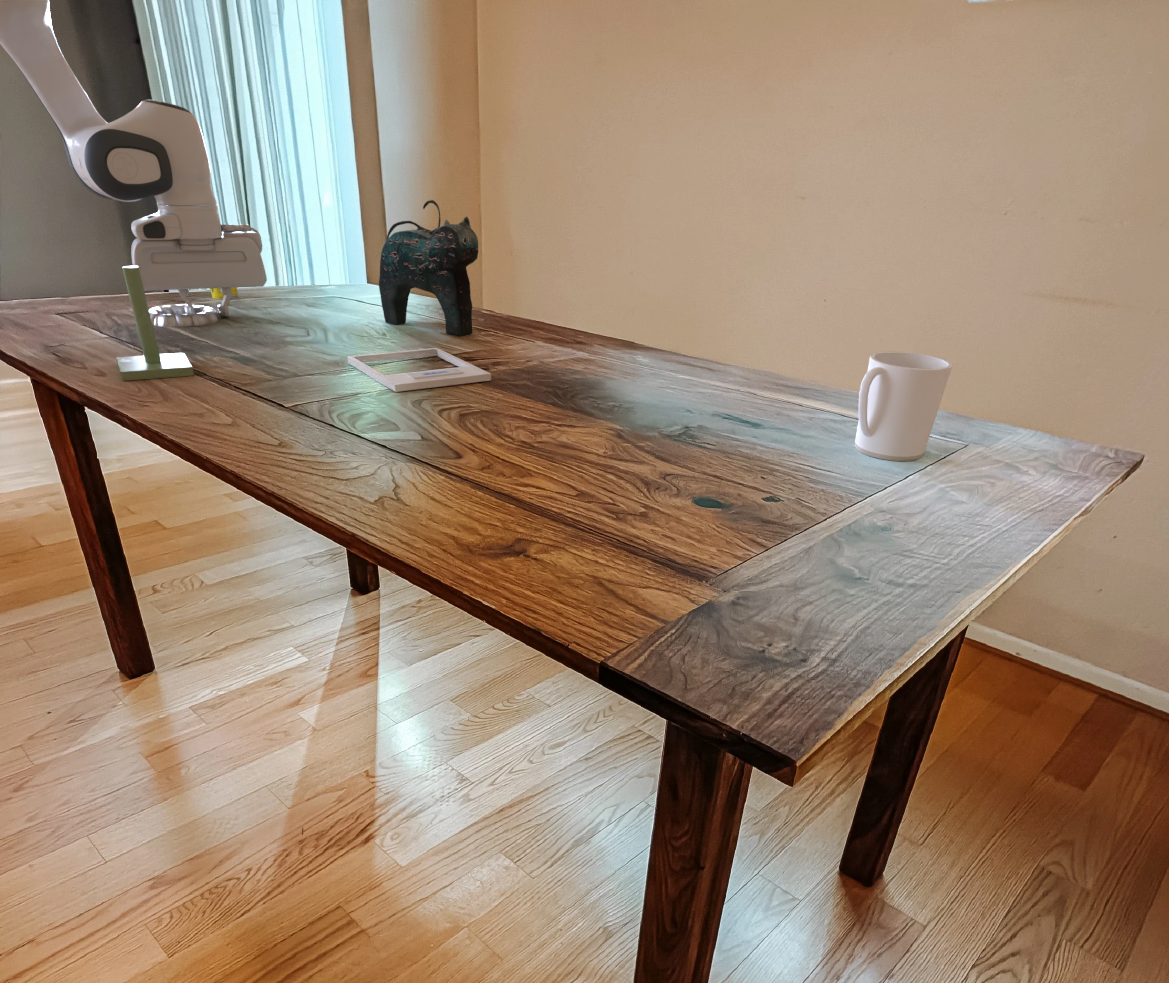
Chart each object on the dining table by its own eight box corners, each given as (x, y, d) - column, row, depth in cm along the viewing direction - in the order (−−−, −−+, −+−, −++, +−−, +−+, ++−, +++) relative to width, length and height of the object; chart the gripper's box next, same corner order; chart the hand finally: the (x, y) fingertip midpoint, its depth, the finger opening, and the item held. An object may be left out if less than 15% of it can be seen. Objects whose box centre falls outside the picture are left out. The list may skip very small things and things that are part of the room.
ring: (148, 338, 131) (143, 318, 129) (141, 324, 140) (137, 305, 138) (227, 333, 136) (223, 314, 134) (216, 320, 145) (212, 301, 143)
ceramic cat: (484, 334, 144) (480, 203, 133) (461, 339, 139) (455, 204, 128) (398, 318, 152) (387, 194, 141) (374, 324, 147) (361, 195, 136)
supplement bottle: (214, 303, 158) (204, 254, 153) (240, 303, 159) (231, 254, 154) (213, 307, 154) (203, 258, 149) (239, 307, 155) (230, 258, 150)
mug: (888, 435, 103) (910, 349, 97) (943, 457, 96) (970, 366, 91) (821, 445, 98) (839, 355, 93) (874, 468, 92) (897, 374, 86)
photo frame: (394, 383, 109) (346, 355, 122) (395, 391, 110) (347, 362, 122) (490, 372, 116) (436, 346, 129) (491, 380, 117) (437, 353, 129)
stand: (122, 381, 110) (93, 272, 102) (117, 366, 116) (90, 263, 109) (194, 375, 113) (171, 270, 106) (186, 361, 120) (163, 261, 113)
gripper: (255, 222, 138) (269, 310, 145) (120, 223, 129) (143, 317, 137) (262, 226, 133) (277, 317, 141) (123, 227, 125) (146, 324, 132)
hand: (210, 317), depth 139 cm, fingers closed on ring, 3 cm apart
